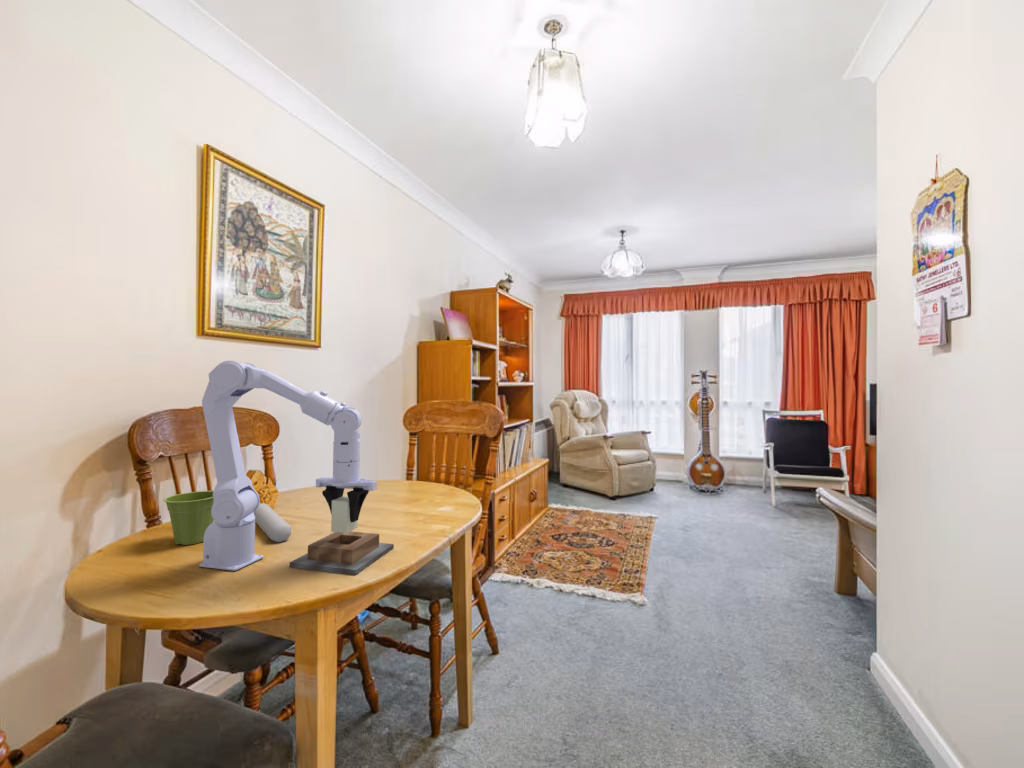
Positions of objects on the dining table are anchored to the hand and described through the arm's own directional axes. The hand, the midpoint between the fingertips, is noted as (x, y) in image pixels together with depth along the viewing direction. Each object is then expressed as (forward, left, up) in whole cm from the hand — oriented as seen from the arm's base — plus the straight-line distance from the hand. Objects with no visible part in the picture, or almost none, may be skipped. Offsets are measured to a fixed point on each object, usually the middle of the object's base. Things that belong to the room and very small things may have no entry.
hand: (345, 520), depth 101 cm
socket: (0, 0, -8) cm, 8 cm away
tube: (-30, +12, -9) cm, 34 cm away
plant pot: (-43, 0, -9) cm, 44 cm away
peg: (0, 0, -2) cm, 2 cm away
